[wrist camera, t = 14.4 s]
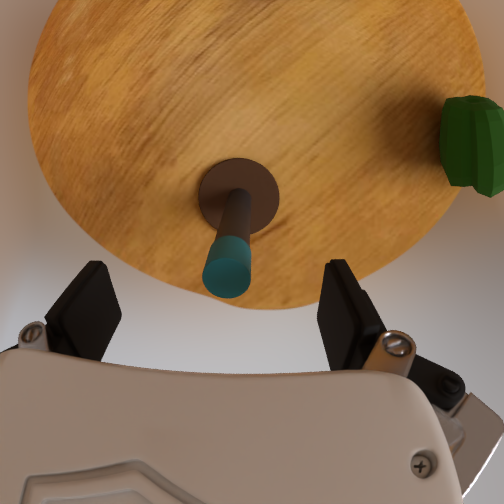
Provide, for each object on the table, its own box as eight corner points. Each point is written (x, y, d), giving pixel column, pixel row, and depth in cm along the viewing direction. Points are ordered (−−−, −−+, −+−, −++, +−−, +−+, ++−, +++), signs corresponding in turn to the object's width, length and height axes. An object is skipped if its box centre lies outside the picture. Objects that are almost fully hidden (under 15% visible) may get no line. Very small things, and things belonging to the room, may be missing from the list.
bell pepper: (439, 110, 14) (447, 221, 19) (528, 114, 9) (521, 222, 15) (425, 91, 19) (437, 177, 24) (494, 91, 14) (498, 177, 20)
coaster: (202, 234, 25) (201, 236, 25) (197, 159, 22) (196, 160, 22) (277, 233, 25) (278, 236, 25) (279, 158, 22) (280, 159, 22)
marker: (227, 211, 24) (204, 298, 13) (226, 187, 23) (199, 257, 12) (252, 211, 24) (250, 299, 13) (252, 186, 23) (250, 258, 12)
